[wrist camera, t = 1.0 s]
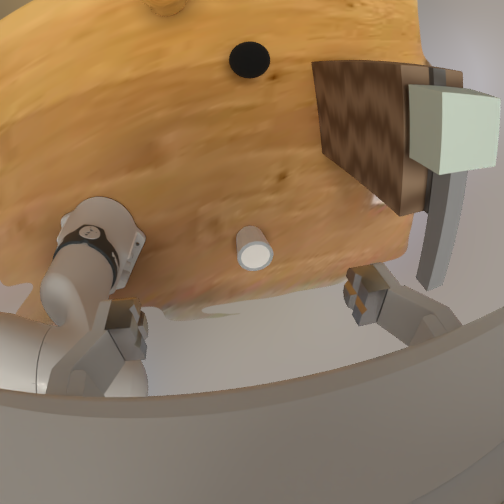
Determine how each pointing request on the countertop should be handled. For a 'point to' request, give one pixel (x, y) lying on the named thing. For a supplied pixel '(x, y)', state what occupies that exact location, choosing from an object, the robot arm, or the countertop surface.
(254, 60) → the light bulb
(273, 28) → the countertop surface
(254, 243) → the white short cylinder
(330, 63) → the walnut stand
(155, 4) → the beer glass
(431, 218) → the grey mallet
